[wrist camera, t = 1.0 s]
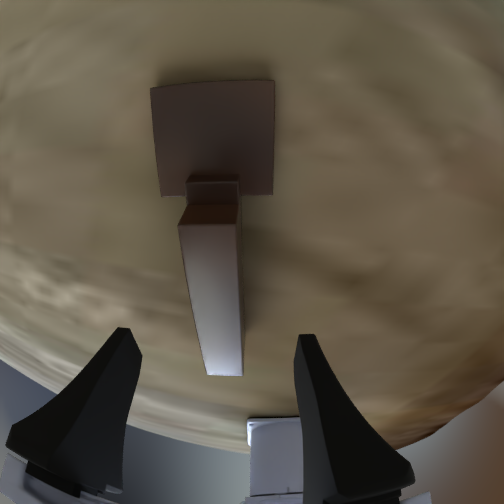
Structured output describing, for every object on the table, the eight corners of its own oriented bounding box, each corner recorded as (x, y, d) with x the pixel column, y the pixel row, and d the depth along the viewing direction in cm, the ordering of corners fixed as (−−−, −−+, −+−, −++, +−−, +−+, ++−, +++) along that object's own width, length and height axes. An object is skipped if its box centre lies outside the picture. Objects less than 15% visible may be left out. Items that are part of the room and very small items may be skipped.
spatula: (266, 335, 18) (267, 376, 16) (191, 334, 18) (183, 373, 16) (274, 80, 10) (281, 79, 7) (154, 87, 10) (122, 91, 7)
